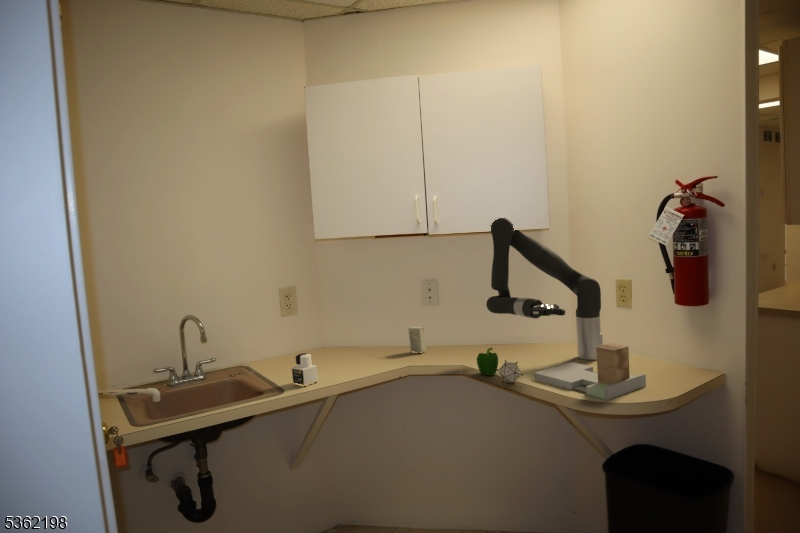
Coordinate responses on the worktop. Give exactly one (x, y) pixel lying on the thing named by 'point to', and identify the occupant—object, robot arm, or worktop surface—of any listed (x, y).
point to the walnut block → (612, 363)
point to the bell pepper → (487, 362)
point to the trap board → (588, 380)
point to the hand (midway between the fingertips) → (563, 312)
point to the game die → (509, 372)
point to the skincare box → (417, 339)
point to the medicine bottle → (304, 370)
